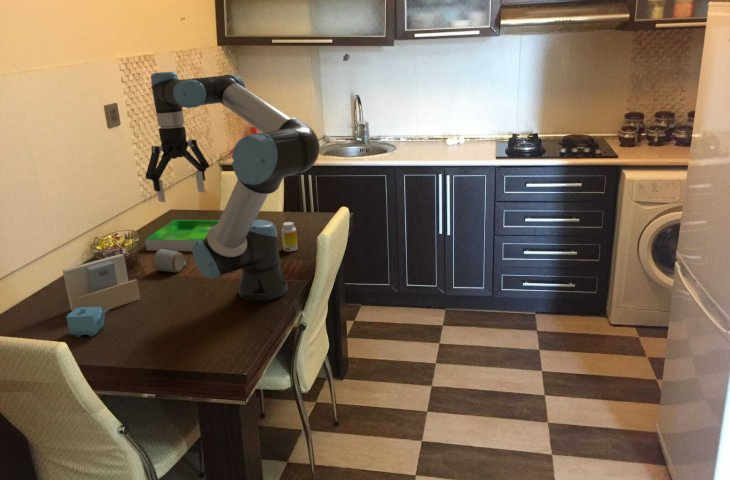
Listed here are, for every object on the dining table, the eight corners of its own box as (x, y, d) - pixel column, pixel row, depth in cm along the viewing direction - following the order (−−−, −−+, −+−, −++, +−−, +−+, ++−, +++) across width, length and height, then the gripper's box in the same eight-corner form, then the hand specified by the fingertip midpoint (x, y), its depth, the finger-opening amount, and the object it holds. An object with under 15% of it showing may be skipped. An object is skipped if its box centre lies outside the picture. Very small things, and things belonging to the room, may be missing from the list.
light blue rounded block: (116, 326, 177) (112, 302, 174) (108, 337, 171) (103, 312, 168) (75, 328, 177) (69, 304, 174) (65, 338, 171) (59, 313, 169)
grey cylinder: (175, 275, 212) (172, 254, 210) (154, 274, 214) (151, 252, 212) (192, 265, 222) (189, 244, 219) (172, 263, 224) (169, 243, 222)
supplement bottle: (300, 249, 232) (298, 223, 229) (288, 253, 229) (285, 226, 226) (292, 245, 236) (290, 220, 233) (280, 249, 233) (277, 223, 230)
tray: (208, 252, 234) (206, 240, 233) (146, 251, 238) (144, 239, 237) (232, 231, 257) (230, 220, 256) (175, 231, 262) (174, 219, 260)
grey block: (120, 294, 191) (114, 263, 188) (97, 301, 186) (91, 270, 183) (114, 290, 194) (108, 260, 191) (91, 297, 189) (85, 267, 186)
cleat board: (140, 299, 194) (133, 260, 190) (82, 318, 183) (73, 277, 178) (128, 291, 200) (121, 253, 196) (70, 309, 189) (62, 269, 185)
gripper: (201, 120, 194) (210, 186, 200) (125, 131, 177) (138, 203, 183) (214, 121, 189) (223, 189, 195) (138, 133, 172) (150, 207, 178)
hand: (182, 196), depth 189 cm, fingers open, 13 cm apart
